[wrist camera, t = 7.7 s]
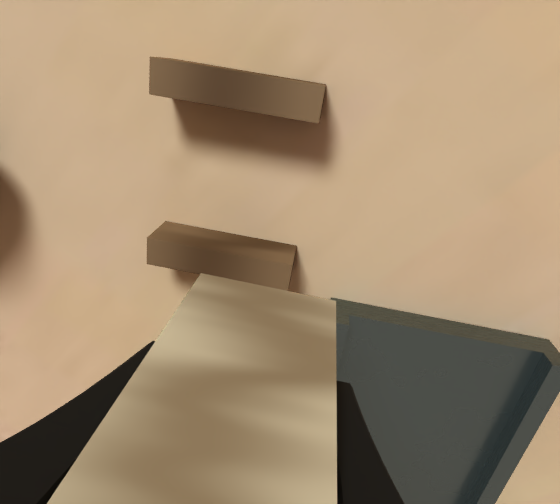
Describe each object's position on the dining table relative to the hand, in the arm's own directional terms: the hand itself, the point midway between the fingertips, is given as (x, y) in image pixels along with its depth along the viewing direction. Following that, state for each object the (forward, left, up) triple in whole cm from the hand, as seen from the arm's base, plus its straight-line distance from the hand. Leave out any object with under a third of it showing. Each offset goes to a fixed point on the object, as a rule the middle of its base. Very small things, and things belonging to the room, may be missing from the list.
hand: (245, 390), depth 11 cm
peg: (0, 0, -2) cm, 2 cm away
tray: (-7, +11, -8) cm, 16 cm away
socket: (+3, -4, -8) cm, 9 cm away
